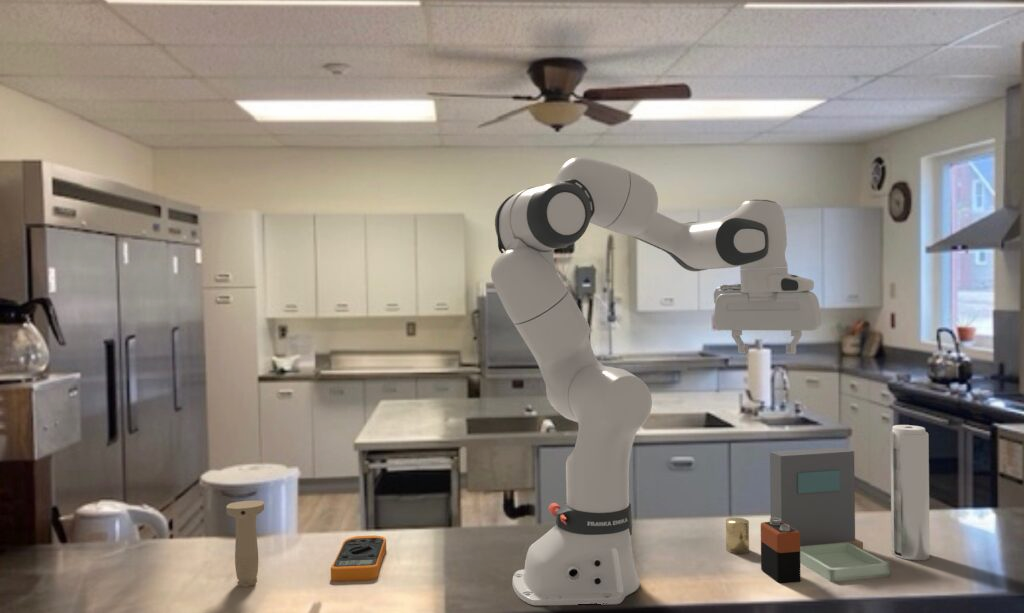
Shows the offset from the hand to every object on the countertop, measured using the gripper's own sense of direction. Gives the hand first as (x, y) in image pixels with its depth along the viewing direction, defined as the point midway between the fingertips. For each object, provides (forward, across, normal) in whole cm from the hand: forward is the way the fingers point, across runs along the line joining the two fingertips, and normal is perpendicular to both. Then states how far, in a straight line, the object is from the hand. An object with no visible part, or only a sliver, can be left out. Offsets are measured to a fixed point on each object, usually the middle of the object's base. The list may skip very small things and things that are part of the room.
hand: (766, 353), depth 144 cm
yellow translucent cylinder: (+39, -6, -4) cm, 40 cm away
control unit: (+40, +6, +6) cm, 41 cm away
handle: (+37, -71, -72) cm, 107 cm away
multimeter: (+38, -62, -53) cm, 90 cm away
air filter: (+40, +22, +13) cm, 48 cm away
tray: (+40, +13, -1) cm, 42 cm away
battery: (+40, +5, -12) cm, 42 cm away
